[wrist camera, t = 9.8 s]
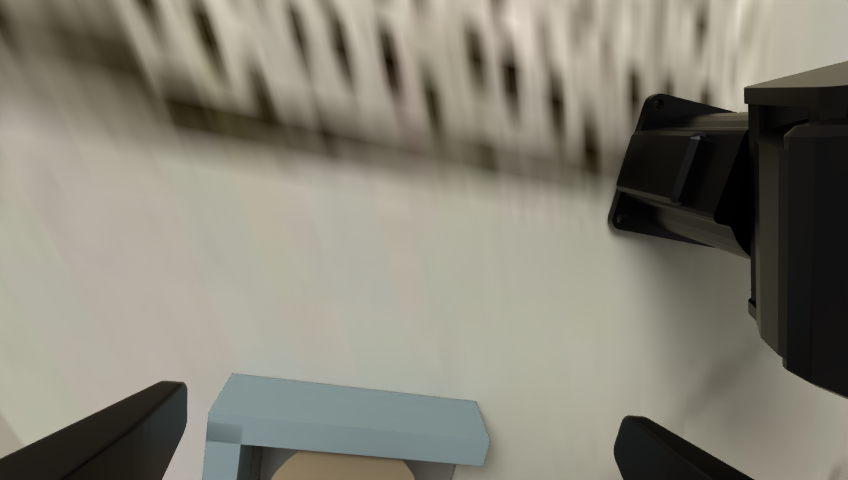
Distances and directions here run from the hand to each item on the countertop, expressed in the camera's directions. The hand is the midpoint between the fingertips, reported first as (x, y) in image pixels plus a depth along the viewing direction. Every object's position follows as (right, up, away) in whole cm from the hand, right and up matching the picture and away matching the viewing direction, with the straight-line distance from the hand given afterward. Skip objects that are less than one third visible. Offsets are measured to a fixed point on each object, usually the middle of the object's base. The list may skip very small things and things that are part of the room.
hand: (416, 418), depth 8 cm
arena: (-5, -11, +15) cm, 20 cm away
